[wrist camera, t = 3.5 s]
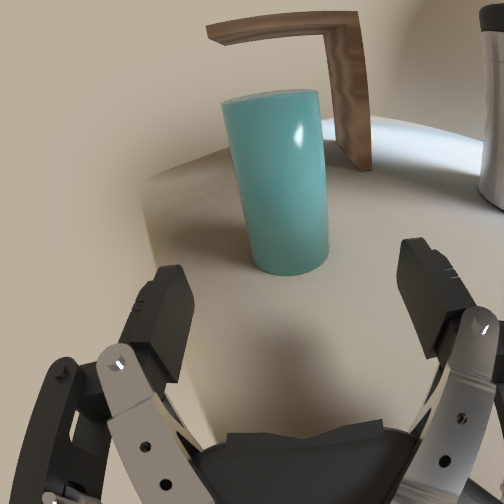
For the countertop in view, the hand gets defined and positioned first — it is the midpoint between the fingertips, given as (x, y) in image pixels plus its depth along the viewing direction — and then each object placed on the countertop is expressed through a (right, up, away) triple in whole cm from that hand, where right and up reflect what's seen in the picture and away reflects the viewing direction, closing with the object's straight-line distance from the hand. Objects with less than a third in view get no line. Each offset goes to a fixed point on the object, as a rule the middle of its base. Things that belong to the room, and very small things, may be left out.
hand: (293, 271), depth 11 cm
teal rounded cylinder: (+1, +1, +11) cm, 11 cm away
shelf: (+5, +13, +27) cm, 31 cm away
